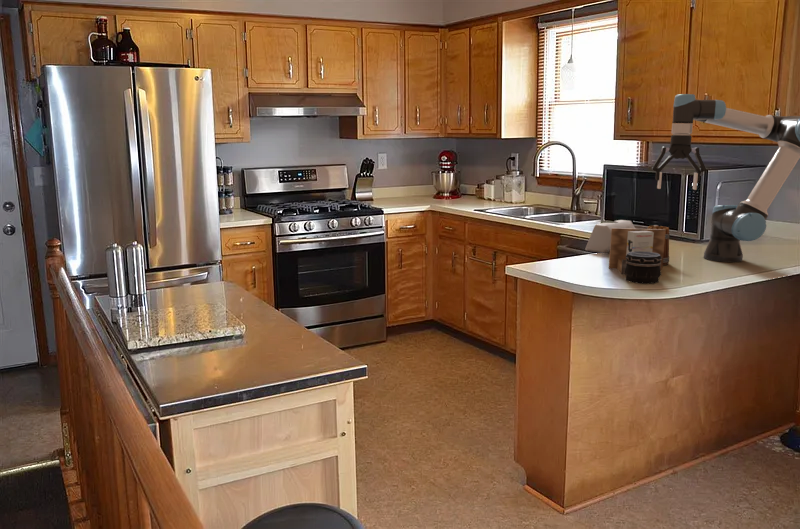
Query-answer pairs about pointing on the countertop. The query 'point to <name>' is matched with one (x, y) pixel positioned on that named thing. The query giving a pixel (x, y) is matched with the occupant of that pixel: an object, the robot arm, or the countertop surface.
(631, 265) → the container
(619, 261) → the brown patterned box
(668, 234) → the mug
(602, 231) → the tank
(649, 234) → the ink box
